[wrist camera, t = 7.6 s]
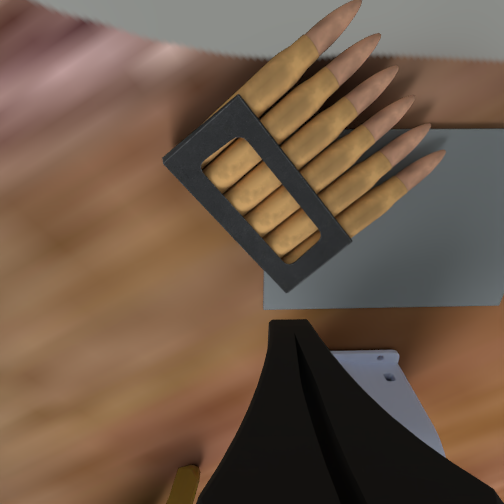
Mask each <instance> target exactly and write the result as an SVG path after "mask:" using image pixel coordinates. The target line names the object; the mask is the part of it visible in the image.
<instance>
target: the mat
mask: <svg viewBox="0 0 504 504" xmlns="http://www.w3.org/2000/svg"><path fill="white" fill-rule="evenodd" d="M298 130H300V129H298ZM298 130H295V131H294V132H293V133H292V134H291V135H290V136H289V137H287V138H286V139H285V140H284V141H283V142H282V143H280V144H279V146H281V145H282V144H283V143H284V142H285V141H287V140H288V139H289V138H290V137H291V136H293V135H294V134H295V133H296V132H297V131H298ZM353 130H354V129H344V130H343V131H342V132H341V133H340V135H339V136H338V137H337V138H336V139H335V140H334V141H333V142H332V143H334V142H335V141H337V140H338V139H340V138H342V137H344V136H345V135H347V134H349V133H350V132H352V131H353ZM409 130H411V129H390V130H389V131H388V132H387V133H386V134H385V135H383V136H382V137H381V138H380V139H379V140H377V141H376V142H375V144H373V145H372V146H371V147H370V148H369V149H368V150H367V151H365V152H364V153H363V154H362V155H361V157H360V158H359V159H358V160H357V161H356V162H355V163H354V164H353V165H352V166H351V167H350V168H352V167H353V166H355V165H357V164H358V163H360V162H362V161H364V160H366V159H367V158H369V157H370V156H371V155H373V154H374V153H376V152H377V151H379V150H380V149H382V148H383V147H384V146H386V145H387V144H388V143H390V142H391V141H393V140H394V139H396V138H397V137H399V136H400V135H402V134H404V133H405V132H407V131H409ZM332 143H330V144H329V145H328V146H327V147H329V146H330V145H331V144H332ZM327 147H326V148H327ZM326 148H325V149H326ZM325 149H323V150H322V151H321V152H323V151H324V150H325ZM439 150H446V153H445V155H444V157H443V159H442V160H441V161H440V163H439V164H438V165H437V166H436V167H435V168H434V169H433V170H432V172H431V173H430V174H429V175H427V176H426V177H425V178H424V179H423V180H422V181H421V182H420V183H418V184H417V185H416V186H415V187H413V188H412V189H411V190H409V191H408V192H407V193H406V194H405V195H404V196H402V197H401V198H400V199H399V200H398V201H396V202H395V203H394V204H393V206H392V207H391V208H390V209H389V210H388V211H387V212H386V213H384V214H383V215H382V216H380V217H379V218H378V219H376V220H375V221H374V222H372V223H371V224H370V225H368V226H367V227H366V228H364V229H363V230H361V231H360V232H359V233H357V234H356V235H355V236H353V237H352V238H351V239H352V243H350V244H349V245H348V246H347V247H345V248H344V249H343V250H342V251H340V252H339V253H338V254H337V255H335V256H334V257H333V258H332V259H330V260H329V261H328V262H327V263H325V264H324V265H323V266H321V267H320V268H319V269H318V270H316V271H315V272H314V273H313V274H311V275H310V276H309V277H308V278H306V279H305V280H304V281H303V282H301V283H300V284H299V285H298V286H296V287H295V288H294V289H293V290H291V291H290V292H289V293H285V292H284V291H283V290H282V289H281V288H280V287H279V286H278V285H277V284H276V283H275V281H274V280H273V279H272V278H271V277H270V276H269V275H268V274H267V273H266V272H265V271H264V295H263V309H264V310H275V309H330V308H384V307H439V306H494V305H499V304H500V302H501V299H502V297H503V294H504V128H500V129H429V131H428V133H427V134H426V136H425V137H424V138H423V139H422V140H421V142H420V143H419V144H418V145H417V146H416V147H415V148H414V149H413V150H412V151H411V152H410V153H409V154H408V155H407V156H406V157H405V158H404V159H402V160H401V161H400V162H399V163H397V164H396V165H395V166H394V167H392V169H391V170H390V171H388V172H387V173H386V174H385V175H384V176H382V177H381V178H380V179H379V180H378V181H377V182H376V184H375V185H374V186H373V187H372V188H371V189H373V188H374V187H376V186H378V185H380V184H382V183H384V182H385V181H387V180H388V179H389V178H391V177H392V176H395V175H396V174H397V173H399V172H400V171H401V170H403V169H404V168H405V167H407V166H409V165H410V164H412V163H413V162H415V161H417V160H418V159H420V158H422V157H424V156H426V155H429V154H431V153H433V152H436V151H439ZM321 152H320V153H321ZM320 153H319V154H320ZM319 154H317V155H316V156H318V155H319ZM316 156H315V157H316ZM315 157H314V158H315ZM314 158H313V159H314ZM313 159H311V160H310V161H312V160H313ZM310 161H309V162H310ZM309 162H308V163H309ZM308 163H307V164H308ZM307 164H305V165H307ZM305 165H304V166H305ZM304 166H303V167H304ZM303 167H302V168H303ZM302 168H301V169H302ZM350 168H349V169H350ZM301 169H299V170H301ZM349 169H347V170H346V171H348V170H349ZM299 170H298V171H299ZM346 171H345V172H346ZM345 172H344V173H345ZM344 173H342V174H341V175H343V174H344ZM341 175H340V176H341ZM340 176H339V177H340ZM339 177H337V178H339ZM337 178H336V179H337ZM336 179H335V180H336ZM335 180H334V181H335ZM334 181H332V182H334ZM332 182H331V183H332ZM331 183H330V184H331ZM330 184H329V185H330ZM281 185H282V184H281ZM281 185H280V186H281ZM280 186H279V187H280ZM327 186H328V185H327ZM327 186H326V187H327ZM326 187H325V188H326ZM325 188H324V189H325ZM371 189H370V190H371ZM275 190H276V189H275ZM275 190H274V191H275ZM322 190H323V189H322ZM322 190H321V191H322ZM274 191H273V192H274ZM321 191H320V192H321ZM320 192H319V193H320ZM367 192H368V191H367ZM269 195H270V194H269ZM269 195H268V196H269ZM296 211H297V210H296ZM291 215H292V214H291Z"/></svg>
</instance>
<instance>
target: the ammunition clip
mask: <svg viewBox="0 0 504 504" xmlns="http://www.w3.org/2000/svg"><path fill="white" fill-rule="evenodd" d="M361 3H362V0H353V1H350V2H348V3H346V4H344V5H342V6H341V7H339V8H337V9H336V10H334V11H333V12H331V13H330V14H328V15H327V16H326V17H324V18H323V19H322V20H320V21H319V22H318V23H317V24H316V25H315V26H313V27H312V28H311V29H310V30H309V31H308V32H307V33H306V34H305V35H302V36H301V37H300V38H299V39H298V40H297V41H295V42H294V43H293V44H292V45H291V46H289V47H288V48H286V49H285V50H283V51H281V52H280V53H278V54H277V55H275V56H274V57H273V58H272V59H271V60H270V61H269V62H268V63H267V64H266V65H265V66H263V67H262V68H261V69H260V70H259V71H258V72H257V73H256V74H255V75H254V76H253V77H252V78H251V79H250V80H248V81H247V82H246V83H245V84H244V85H243V86H242V87H241V88H240V89H239V90H238V91H237V92H236V93H235V94H233V95H232V96H231V97H230V98H229V99H228V100H227V101H226V102H225V103H224V104H223V105H222V106H221V107H220V108H218V109H217V110H216V111H215V112H214V113H213V114H212V115H211V116H210V117H209V118H208V119H207V120H206V121H205V122H204V123H202V124H201V125H200V126H199V127H198V128H197V129H196V130H195V131H193V132H192V133H191V134H190V135H189V136H188V137H186V138H185V139H184V140H183V141H182V142H180V143H179V144H178V145H177V146H176V147H175V148H173V149H172V150H171V151H170V152H169V153H167V154H166V155H165V156H164V157H163V158H162V159H163V164H164V165H165V166H166V167H167V168H168V169H169V170H170V172H171V173H172V174H173V175H174V176H175V177H176V178H177V179H178V180H179V181H180V182H181V183H182V184H183V185H184V186H185V187H186V188H187V190H188V191H189V192H190V193H191V194H192V195H193V196H194V197H195V198H196V199H197V200H198V201H199V202H200V203H201V204H202V205H203V206H204V207H205V209H206V210H207V211H208V212H209V213H210V214H211V215H212V216H213V217H214V218H215V219H216V220H217V221H218V222H219V223H220V224H221V225H222V227H223V228H224V229H225V230H226V231H227V232H228V233H229V234H230V235H231V236H232V237H233V238H234V239H235V240H236V241H237V242H238V243H239V244H240V246H241V247H242V248H243V249H244V250H245V251H246V252H247V253H248V254H249V255H250V256H251V257H252V258H253V259H254V260H255V261H256V262H257V264H258V265H259V266H260V267H261V268H262V269H263V270H264V271H265V272H266V273H267V274H268V275H269V276H270V277H271V278H272V279H273V280H274V281H275V283H276V284H277V285H278V286H279V287H280V288H281V289H282V290H283V291H284V292H285V293H289V292H290V291H291V290H293V289H294V288H295V287H296V286H298V285H299V284H300V283H301V282H303V281H304V280H305V279H306V278H308V277H309V276H310V275H311V274H313V273H314V272H315V271H316V270H318V269H319V268H320V267H321V266H323V265H324V264H325V263H327V262H328V261H329V260H330V259H332V258H333V257H334V256H335V255H337V254H338V253H339V252H340V251H342V250H343V249H344V248H345V247H347V246H348V245H349V244H350V243H352V239H351V238H352V237H353V236H355V235H356V234H357V233H359V232H360V231H361V230H363V229H364V228H366V227H367V226H368V225H370V224H371V223H372V222H374V221H375V220H376V219H378V218H379V217H380V216H382V215H383V214H384V213H386V212H387V211H388V210H389V209H390V208H391V207H392V206H393V204H394V203H395V202H396V201H398V200H399V199H400V198H401V197H402V196H404V195H405V194H406V193H407V192H408V191H409V190H411V189H412V188H413V187H415V186H416V185H417V184H418V183H420V182H421V181H422V180H423V179H424V178H425V177H426V176H427V175H429V174H430V173H431V172H432V170H433V169H434V168H435V167H436V166H437V165H438V164H439V163H440V161H441V160H442V159H443V157H444V155H445V153H446V150H439V151H436V152H433V153H431V154H429V155H426V156H424V157H422V158H420V159H418V160H417V161H415V162H413V163H412V164H410V165H409V166H407V167H405V168H404V169H403V170H401V171H400V172H399V173H397V174H396V175H395V176H392V177H391V178H389V179H388V180H387V181H385V182H384V183H382V184H380V185H378V186H376V187H374V188H373V189H371V188H372V187H373V186H374V185H375V184H376V182H377V181H378V180H379V179H380V178H381V177H382V176H384V175H385V174H386V173H387V172H388V171H390V170H391V169H392V167H394V166H395V165H396V164H397V163H399V162H400V161H401V160H402V159H404V158H405V157H406V156H407V155H408V154H409V153H410V152H411V151H412V150H413V149H414V148H415V147H416V146H417V145H418V144H419V143H420V142H421V140H422V139H423V138H424V137H425V136H426V134H427V133H428V131H429V129H430V128H431V124H430V123H427V124H423V125H420V126H418V127H415V128H413V129H411V130H409V131H407V132H405V133H404V134H402V135H400V136H399V137H397V138H396V139H394V140H393V141H391V142H390V143H388V144H387V145H386V146H384V147H383V148H382V149H380V150H379V151H377V152H376V153H374V154H373V155H371V156H370V157H369V158H367V159H366V160H364V161H362V162H360V163H358V164H357V165H355V166H353V167H352V168H350V167H351V166H352V165H353V164H354V163H355V162H356V161H357V160H358V159H359V158H360V157H361V155H362V154H363V153H364V152H365V151H367V150H368V149H369V148H370V147H371V146H372V145H373V144H375V142H376V141H377V140H379V139H380V138H381V137H382V136H383V135H385V134H386V133H387V132H388V131H389V130H390V129H391V128H392V127H393V126H394V125H395V124H396V123H397V122H398V121H399V120H400V119H401V118H402V117H403V116H404V114H405V113H406V112H407V111H408V109H409V108H410V107H411V105H412V103H413V102H414V100H415V95H410V96H407V97H404V98H402V99H399V100H397V101H395V102H393V103H392V104H390V105H388V106H386V107H385V108H383V109H382V110H380V111H379V112H377V113H376V114H374V115H373V116H372V117H370V118H369V119H368V120H367V121H365V122H364V123H363V124H362V125H359V126H358V127H357V128H356V129H354V130H353V131H352V132H350V133H349V134H347V135H345V136H344V137H342V138H340V139H338V140H337V141H335V142H334V143H332V142H333V141H334V140H335V139H336V138H337V137H338V136H339V135H340V133H341V132H342V131H343V130H344V129H345V127H346V126H348V125H349V124H350V123H351V122H352V121H353V120H354V119H355V118H356V117H357V116H358V115H359V114H360V113H361V112H362V111H364V110H365V109H366V108H367V107H368V106H369V105H370V104H372V103H373V102H374V101H375V100H376V99H377V98H378V96H379V95H380V94H381V93H382V92H383V91H384V90H385V89H386V88H387V86H388V85H389V84H390V82H391V81H392V80H393V78H394V77H395V75H396V73H397V71H398V69H399V66H398V65H394V66H391V67H388V68H386V69H384V70H382V71H380V72H378V73H376V74H374V75H373V76H371V77H369V78H368V79H366V80H365V81H364V82H362V83H361V84H359V85H358V86H357V87H355V88H354V89H353V90H352V91H351V92H349V93H348V94H347V95H346V96H345V97H342V98H341V99H340V100H339V101H337V102H336V103H335V104H333V105H332V106H331V107H329V108H327V109H326V110H324V111H322V112H321V113H319V114H317V115H316V116H315V117H314V118H312V119H311V120H310V121H309V122H308V123H307V124H305V125H304V126H303V127H302V128H301V129H300V130H298V131H297V132H296V133H295V134H294V135H293V136H291V137H290V138H289V139H288V140H287V141H285V142H284V143H283V144H282V145H281V146H279V144H280V143H282V142H283V141H284V140H285V139H286V138H287V137H289V136H290V135H291V134H292V133H293V132H294V131H295V130H297V129H298V128H299V127H300V126H301V125H302V124H303V123H305V122H306V121H307V120H308V119H309V118H310V117H311V116H313V115H314V114H315V113H316V112H317V111H318V110H319V108H320V107H321V106H322V105H323V103H324V102H325V101H326V100H327V99H328V98H329V97H330V96H331V95H332V94H333V93H334V92H335V91H336V90H337V89H338V88H339V87H340V86H341V85H342V84H343V83H344V82H345V81H346V80H347V79H348V78H350V77H351V76H352V75H353V74H354V73H355V72H356V71H357V69H358V68H359V67H360V66H361V65H362V64H363V63H364V62H365V61H366V59H367V58H368V57H369V56H370V54H371V53H372V52H373V50H374V49H375V47H376V46H377V44H378V42H379V40H380V38H381V34H380V33H377V34H373V35H371V36H368V37H366V38H364V39H362V40H361V41H359V42H357V43H355V44H354V45H352V46H351V47H349V48H348V49H346V50H345V51H344V52H342V53H341V54H340V55H338V56H337V57H336V58H335V59H333V60H332V61H331V62H330V63H329V64H328V65H327V66H325V67H323V68H322V69H321V70H320V71H318V72H317V73H316V74H315V75H314V76H312V77H311V78H309V79H308V80H306V81H304V82H303V83H301V84H299V85H298V86H297V87H295V88H294V89H293V90H292V91H291V92H290V93H289V94H287V95H286V96H285V97H284V98H283V99H282V100H281V101H280V102H278V103H277V104H276V105H275V106H274V107H273V108H272V109H271V110H270V111H268V112H267V113H266V114H265V115H264V116H263V117H262V118H261V119H258V118H259V117H260V116H261V115H262V114H263V113H264V112H265V111H267V110H268V109H269V108H270V107H271V106H272V105H273V104H274V103H275V102H276V101H278V100H279V99H280V98H281V97H282V96H283V95H284V94H285V93H286V92H287V91H288V90H290V89H291V88H292V87H293V86H294V85H295V84H296V83H297V82H298V80H299V79H300V78H301V76H302V75H303V74H304V73H305V71H306V70H307V69H308V68H309V67H310V66H311V65H312V64H313V63H314V62H315V61H316V60H317V59H318V58H319V56H320V55H321V54H322V53H323V52H325V51H326V50H327V49H328V48H329V47H330V46H331V45H332V44H333V43H334V42H335V41H336V39H337V38H338V37H339V36H340V35H341V34H342V33H343V31H344V30H345V29H346V28H347V26H348V25H349V24H350V22H351V21H352V19H353V17H355V15H356V13H357V12H358V10H359V8H360V6H361ZM237 137H239V138H238V139H237V140H236V141H235V142H234V143H232V142H233V141H234V140H235V139H236V138H237ZM230 143H232V144H231V145H230V146H229V147H228V148H227V149H226V150H225V151H223V150H224V149H225V148H226V147H227V146H228V145H229V144H230ZM330 143H332V144H331V145H330V146H329V147H327V146H328V145H329V144H330ZM326 147H327V148H326ZM325 148H326V149H325ZM323 149H325V150H324V151H323V152H321V151H322V150H323ZM222 151H223V152H222ZM221 152H222V153H221ZM320 152H321V153H320ZM219 153H221V154H220V155H219V156H218V157H217V158H216V159H214V158H215V157H216V156H217V155H218V154H219ZM319 153H320V154H319ZM317 154H319V155H318V156H316V155H317ZM315 156H316V157H315ZM314 157H315V158H314ZM313 158H314V159H313ZM213 159H214V160H213ZM311 159H313V160H312V161H310V160H311ZM212 160H213V161H212ZM261 160H263V161H262V162H261V163H260V164H258V163H259V162H260V161H261ZM211 161H212V162H211ZM309 161H310V162H309ZM210 162H211V163H210ZM308 162H309V163H308ZM209 163H210V164H209ZM307 163H308V164H307ZM207 164H209V165H208V166H207V167H206V165H207ZM256 164H258V165H257V166H256V167H255V168H254V169H253V170H251V169H252V168H253V167H254V166H255V165H256ZM305 164H307V165H305ZM304 165H305V166H304ZM303 166H304V167H303ZM302 167H303V168H302ZM301 168H302V169H301ZM349 168H350V169H349ZM299 169H301V170H299ZM347 169H349V170H348V171H346V170H347ZM250 170H251V171H250ZM298 170H299V171H298ZM248 171H250V172H249V173H248V174H247V175H246V176H244V175H245V174H246V173H247V172H248ZM345 171H346V172H345ZM344 172H345V173H344ZM342 173H344V174H343V175H341V174H342ZM340 175H341V176H340ZM243 176H244V177H243ZM339 176H340V177H339ZM242 177H243V178H242ZM337 177H339V178H337ZM240 178H242V179H241V180H240V181H239V182H237V181H238V180H239V179H240ZM336 178H337V179H336ZM335 179H336V180H335ZM334 180H335V181H334ZM332 181H334V182H332ZM236 182H237V183H236ZM331 182H332V183H331ZM235 183H236V184H235ZM330 183H331V184H330ZM234 184H235V185H234ZM281 184H282V185H281ZM329 184H330V185H329ZM232 185H234V186H233V187H231V186H232ZM280 185H281V186H280ZM327 185H328V186H327ZM279 186H280V187H279ZM326 186H327V187H326ZM230 187H231V188H230ZM325 187H326V188H325ZM229 188H230V189H229ZM324 188H325V189H324ZM228 189H229V190H228ZM275 189H276V190H275ZM322 189H323V190H322ZM370 189H371V190H370ZM227 190H228V191H227ZM274 190H275V191H274ZM321 190H322V191H321ZM273 191H274V192H273ZM320 191H321V192H320ZM367 191H368V192H367ZM319 192H320V193H319ZM269 194H270V195H269ZM268 195H269V196H268ZM263 199H264V200H263ZM262 200H263V201H262ZM296 210H297V211H296ZM291 214H292V215H291Z"/></svg>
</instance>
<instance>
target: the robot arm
mask: <svg viewBox="0 0 504 504" xmlns="http://www.w3.org/2000/svg"><path fill="white" fill-rule="evenodd" d="M378 356H380V357H378ZM398 361H399V354H398V352H397V351H396V350H357V351H330V350H329V349H328V348H327V346H326V345H325V344H324V342H323V341H322V340H321V338H320V337H319V336H318V334H317V333H316V331H315V330H314V328H313V327H312V325H311V324H310V322H309V321H308V320H307V319H297V320H271V321H270V322H269V332H268V349H267V354H266V358H265V362H264V366H263V369H262V373H261V376H260V379H259V382H258V385H257V388H256V390H255V393H254V396H253V398H252V401H251V403H250V406H249V408H248V410H247V412H246V415H245V417H244V419H243V421H242V423H241V425H240V427H239V429H238V431H237V433H236V435H235V437H234V439H233V441H232V443H231V444H230V446H229V448H228V450H227V452H226V453H225V455H224V457H223V459H222V461H221V462H220V464H219V466H218V467H217V469H216V470H215V472H214V474H213V475H212V477H211V478H210V480H209V481H208V483H207V484H206V486H205V487H204V489H203V491H202V492H201V494H200V495H199V497H198V500H197V503H196V504H504V503H503V502H502V500H501V499H500V498H499V496H498V495H497V493H496V492H495V490H494V489H493V488H491V487H490V486H488V485H486V484H485V483H483V482H482V481H480V480H479V479H477V478H476V477H474V476H472V475H471V474H469V473H468V472H466V471H465V470H463V469H462V468H460V467H459V466H457V465H455V464H454V463H452V462H451V461H449V460H448V459H447V458H446V457H445V453H444V450H443V447H442V444H441V441H440V439H439V436H438V434H437V432H436V430H435V428H434V426H433V424H432V422H431V420H430V419H429V417H428V415H427V413H426V412H425V410H424V408H423V406H422V405H421V403H420V401H419V400H418V398H417V396H416V394H415V393H414V391H413V389H412V387H411V386H410V384H409V382H408V380H407V379H406V377H405V375H404V373H403V372H402V370H401V368H400V366H399V365H398Z"/></svg>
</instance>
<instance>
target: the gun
mask: <svg viewBox="0 0 504 504" xmlns="http://www.w3.org/2000/svg"><path fill="white" fill-rule="evenodd" d="M199 479H200V470H199V467H197V466H194V465H188V466H184V467H181V468H178V471H177V474H176V477H175V480H174V483H173V486H172V489H171V493H170V496H169V498H168V500H167V503H166V504H193V501H194V498H195V494H196V490H197V487H198V483H199Z"/></svg>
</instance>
